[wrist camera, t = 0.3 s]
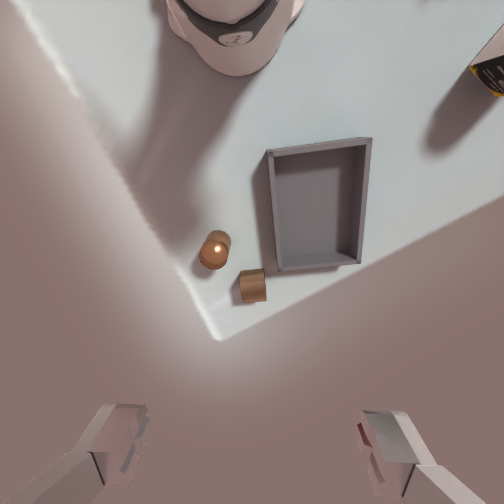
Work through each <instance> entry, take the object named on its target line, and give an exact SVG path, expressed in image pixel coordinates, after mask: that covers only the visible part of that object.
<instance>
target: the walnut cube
mask: <svg viewBox="0 0 504 504" xmlns="http://www.w3.org/2000/svg"><path fill="white" fill-rule="evenodd" d="M239 284H240V289H241V295H242V300H243V303H249V302H261V301H267V300H266V284H265V276H264V269H254V270H244V271H241V275H240V283H239Z"/></svg>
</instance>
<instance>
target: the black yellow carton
mask: <svg viewBox="0 0 504 504" xmlns="http://www.w3.org/2000/svg"><path fill="white" fill-rule="evenodd" d="M468 68H469V69H470V70H471V71H472V73H473V74H474V75H475V76H476V77H477V78H478V79H479V80H480V81H481V82H482V83H483V84H484V85H485V86H486V87H487V88H488V89H489V90H490V91H491V92H492V93H493V94H494V96H496V97H499V96H504V25H503V26H502V27H501V28H500V30H499V31H498V32H497V33H496V34H495V35H494V37H493V38H492V39H491V40H490V41H489V43H488V44H487V45H486V46H485V47H484V48H483V50H482V51H481V52H480V53H479V54H478V56H477V57H476V58H475V59H474V60H473V61H472V63H471V64H470V65H469V67H468Z"/></svg>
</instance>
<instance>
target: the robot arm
mask: <svg viewBox="0 0 504 504" xmlns="http://www.w3.org/2000/svg"><path fill="white" fill-rule="evenodd" d="M166 3H167V12H168V22H169V26H170V28H171V29H172V31H173V32H174V33H175V34H176V35H177V36H178V37H180V38H181V39H183V40H185V41H186V42H188V43H190V44H191V45H192V46H193V48H194V49H195V50H196V51H197V53H198V54H199V55H200V57H201V58H202V59H203V60H204V61H205V62H206V63H207V64H208V65H209V66H210V67H212V68H213V69H215V70H216V71H218V72H220V73H222V74H225V75H229V76H245V75H249V74H251V73H254V72H256V71H258V70H259V69H261V68H262V67H263V66H264V65H266V64H267V63H268V62H269V61H270V59H271V58H272V57H273V56H274V54H275V53H276V51H277V49H278V48H279V46H280V43H281V41H282V39H283V36H284V34H285V32H286V30H287V28H288V26H289V25H290V24H291V23H292V22H293V21H294V20H295V18H296V17H297V16H298V15H299V14H300V12H301V11H302V9H303V7H304V3H305V0H166ZM147 411H148V410H147V408H146V405H142V404H120V403H105V404H104V405H103V406H102V407H101V408H100V409H99V411H98V412H97V414H96V415H95V417H94V418H93V420H92V421H91V423H90V424H89V426H88V427H87V429H86V430H85V432H84V433H83V435H82V436H81V438H80V439H79V441H78V442H77V444H76V445H75V447H74V448H73V450H72V451H71V452H66V453H65V454H63V455H62V456H61V457H60V458H58V459H57V460H56V461H55V462H53V463H52V464H51V465H49V466H48V467H47V468H46V469H44V470H43V471H42V472H41V473H39V474H38V475H37V476H35V477H34V478H33V479H32V480H30V481H29V482H28V483H27V484H25V485H24V486H23V487H21V488H20V489H19V490H18V491H16V492H15V493H14V494H13V495H11V496H10V497H9V498H8V499H6V500H5V501H4V502H2V503H1V504H90V503H91V502H92V501H93V500H94V499H95V498H96V497H97V495H98V494H99V493H100V492H101V491H102V490H103V489H104V486H129V484H130V482H131V479H132V477H133V475H134V472H135V470H136V468H137V465H138V457H137V455H138V454H139V453H140V452H141V451H142V450H143V449H144V448H145V446H146V443H147V441H148V437H149V433H150V419H149V418H148V417H147V416H146V413H147ZM359 418H360V421H361V422H360V423H359V424H358V425H357V429H356V437H357V443H358V447H359V450H360V453H361V456H362V457H363V458H364V459H365V460H366V462H367V463H368V468H367V474H368V477H369V479H370V482H371V485H372V488H373V491H374V494H375V496H376V497H389V498H402V501H403V502H404V503H405V504H486V503H485V502H483V501H482V500H481V499H480V498H479V497H478V496H476V495H475V494H474V493H473V492H472V491H471V490H470V489H468V488H467V487H466V486H465V485H464V484H463V483H462V482H460V481H459V480H458V479H457V478H456V477H455V476H454V475H452V474H451V473H450V472H449V471H448V470H447V469H446V468H444V467H443V466H441V465H437V464H436V462H435V460H434V458H433V457H432V455H431V454H430V452H429V450H428V448H427V447H426V445H425V444H424V442H423V440H422V439H421V437H420V435H419V434H418V432H417V430H416V428H415V427H414V425H413V423H412V422H411V420H410V418H409V417H408V416H407V414H406V413H405V412H402V411H365V410H363V411H361V412H360V415H359Z"/></svg>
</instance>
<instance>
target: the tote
mask: <svg viewBox="0 0 504 504" xmlns="http://www.w3.org/2000/svg"><path fill="white" fill-rule="evenodd" d="M371 148H372V138H369V137H358V138H350V139H343V140H336V141H329V142H321V143H314V144H307V145H300V146H292V147H285V148H278V149H270V150H267V161H268V171H269V182H270V193H271V204H272V215H273V226H274V237H275V248H276V259H277V265H278V272H279V271H289V270H300V269H310V268H320V267H331V266H341V265H351V264H361V256H362V245H363V234H364V223H365V213H366V202H367V191H368V181H369V170H370V159H371Z"/></svg>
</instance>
